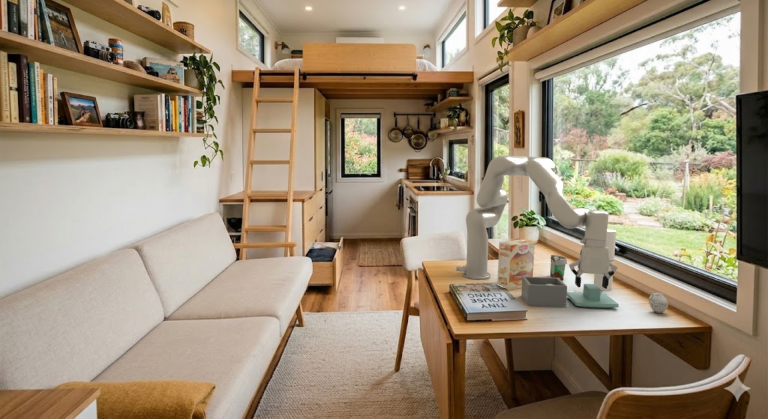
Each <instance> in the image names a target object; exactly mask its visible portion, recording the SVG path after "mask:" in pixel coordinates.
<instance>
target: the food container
mask: <svg viewBox="0 0 768 419" xmlns="http://www.w3.org/2000/svg"><path fill="white" fill-rule="evenodd" d="M567 260H568V259H567V258H566V257H565V256H563V255H557V254H550V267H549V268H550V269H549V270H550V272H549V274H550V276H549V278H559V279H560V280H561V281H562V282H564V279H565V271H566V265H567V264H568V261H567Z"/></svg>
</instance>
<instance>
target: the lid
mask: <svg viewBox="0 0 768 419" xmlns="http://www.w3.org/2000/svg"><path fill="white" fill-rule="evenodd" d="M582 291H583V292H576V291H575V292H574V291H573V292H572V291H571V292H570V291H567V297H568V299H569V300H570V301H571V303H573V304H574V305H575V306H576V307H577V306H578V307H579V308H597V309H598V308H600V309H601V308H602V309H611V308H619V303H618V302H617V301H615V299H613V298H612V297H611V296H609V295H608V294H607V293H602V290H601V289H600V288H599V287H597V286H596V285H595V284H594V283H583V290H582Z"/></svg>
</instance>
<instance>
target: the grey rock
mask: <svg viewBox="0 0 768 419" xmlns="http://www.w3.org/2000/svg"><path fill="white" fill-rule="evenodd" d="M648 304H649V306H650V308H651V310H652V311H653V312H655V313H658V314H661V313H662V314H663V313H665V312H666V310H667V309H668V306H669V302H668V300H667V298H666V297H665V296H664V294H663V293H661V292H654V293H653V292H652V293H651V294H650V296H649V298H648Z"/></svg>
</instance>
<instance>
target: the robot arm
mask: <svg viewBox="0 0 768 419" xmlns="http://www.w3.org/2000/svg"><path fill="white" fill-rule="evenodd" d="M555 170H556V165H555V163H554V161H553V160H552V159H550V158H548V157H544V156H543V157H541V156H540V157H538V156H537V157H536V156H527V155H526V156H525V155H501V156H496V157H494V158H493V159H491V161H490V162H489V164H488V166H487V169H486V172H485V175H484V177H483V180H482V183H481V185H480V188H479V190H478V193H477V195H476V203H477V204H478V206H479V207H477V208H472V209H471V210H469V211H468V212H467V214H466V217H465V224H466V232H467V233H466V234H467V236H466V237H467V238H466V239H467V241H466V242H467V243H466V245H467V246H466V264H464V266H456V268H455V269H456V272H461V273H462V276H463V277H464V278H467V279H472V280H487V279H490V278H491V273H490V272H488V261H489V260H488V259H489V256H488V255H489V234H488V230H487V228H493V227H495V226H497V224H498V223H499V221H500V219H501V217H502V215H503V212H504V210H505V207H506V205H507V202H508V193H507V190H506V189H505V188H504V187H503V184H504V180H505V177H504V176H513V177H514V176H515V177H516V176H527V177H529V178H530V180H531V181H532V182H533V183H534V185H535V186H536V187H537V188H538V189H539V190H540V192H541V193H542V194H543V196H544V197H545V198H544V199H545V202H546V204H547V208H548V210H549V211H550V213H551V214H552V216H554V218H555V219H556V221H557V222H558V223H559V224H560V225H561V226H563V227H564V228H566V229H575V228H576V229H577V228H581V227H585V228H584V237H583V238H582V239H580V240H579V241H580V244H582V246H581V247H580V248H581V249H580V251H579V252H580V253H579V256H578V260H576V261H574V262H571V263H570V264H568V266H569V268H570V271H571V272H572V273H573V275H574V276H575V280H574V284H575V286H577V288H581V287H582V286H581V284H582V277H581V276H582V275H583V274H604V276H603V281H602V287H604V288H605V289H607V286H608V283H609V278H610V277H611V276H612V275H613V276H614V274H615V273H616V272H617V270H618V266H616V265H615V264H614V265H613V264H611V263H609V251H608V248H607V247H606V238H607V229H608V224H609V213H608V212H607V211H605V210H600V209H599V210H598V209H590V208H585V207H572V206H571V205H570V204H569V203H568V202H567V200H566V198H565V197H564V195H563V188H564V183H563V181H562V180H561V179H560V178H559V176H557V174H556V173H555ZM575 267H577V270H576V269H575ZM609 267H611V268H612V269H611V270H610V271H609Z"/></svg>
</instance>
